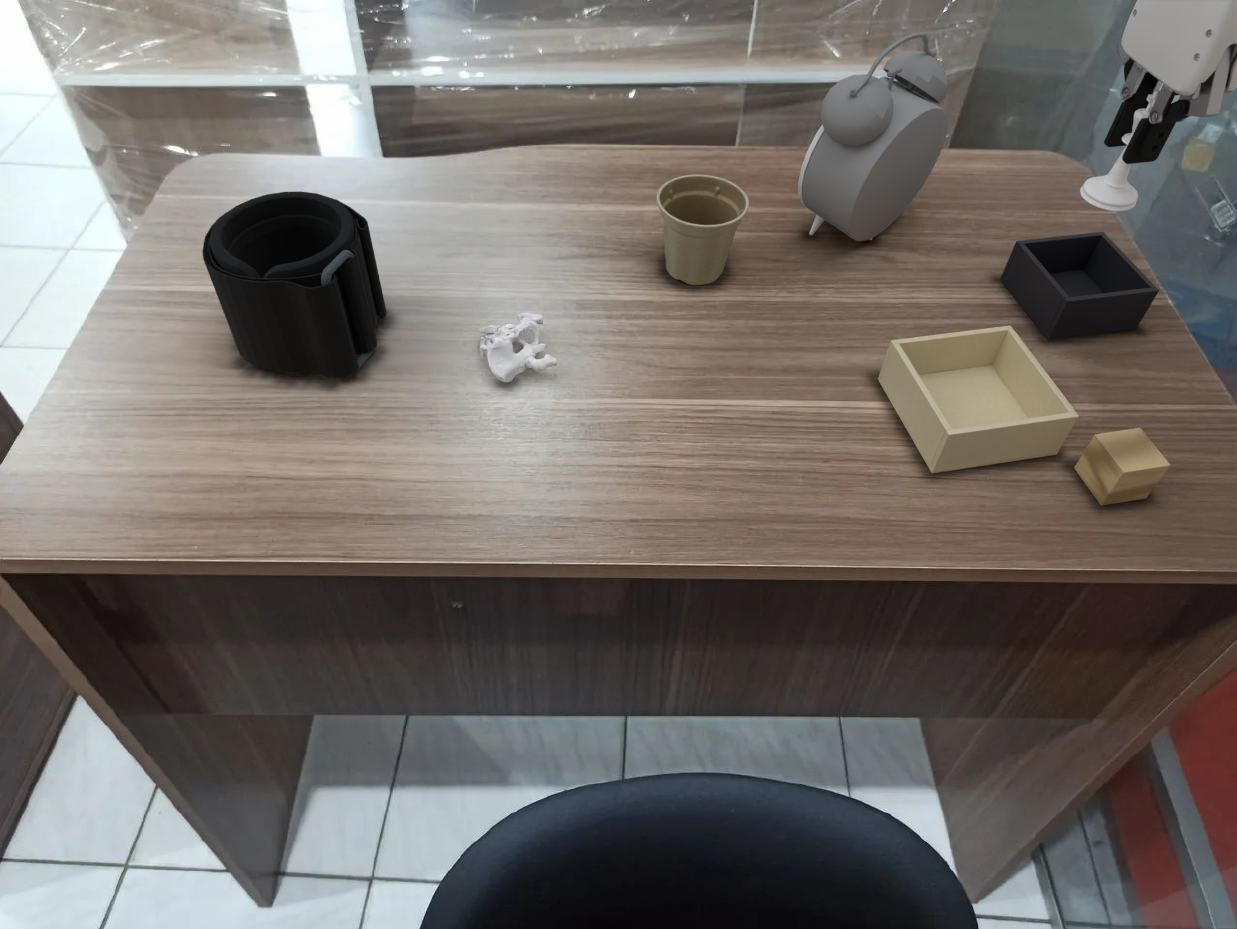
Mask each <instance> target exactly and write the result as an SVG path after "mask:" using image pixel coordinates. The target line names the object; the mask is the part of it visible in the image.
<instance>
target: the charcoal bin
mask: <svg viewBox="0 0 1237 929" xmlns="http://www.w3.org/2000/svg"><path fill="white" fill-rule="evenodd" d="M1001 273H1002V274H1001V276H1000V278H999V280H1000V282H1001V283H1002V284H1003V285H1004V287H1005V288H1006V290H1007V291H1008V292H1009V293H1010V295H1011V296H1012V298H1014V300H1015V301H1016V302H1017V304H1019V306H1020V308H1022V309H1023V311H1024V312H1025V313H1026V315H1027V316H1028V317H1029V319H1030V320H1031V321H1032V322H1033V324H1034V325H1035V326H1036V327H1037V329H1038V330H1039V331H1040V332H1041V334H1042V335H1043V336H1044V338H1045V339H1046V341H1054V340H1060V339H1069V338H1078V337H1085V336H1092V335H1100V334H1107V333H1109V334H1110V333H1115V332H1124V331H1132V330H1137V329H1138V327H1139V325H1140V324H1141V322H1142V321H1143V319H1144V317H1145V316H1146V314H1147V312H1148V310H1149V308H1150V307H1151V305H1152V304H1153V302H1154V300H1155V298H1157V295H1158V294H1159V292H1160V290H1159V288H1158V287H1157V286H1156V285H1155V284H1154V283H1153V282H1152V280H1150V279H1149V277H1147V275H1146V274H1145V273H1143V272H1142V270H1141V269H1140V268H1139V267H1138V266H1137V265H1136V264H1135V263H1134V262H1133V261H1132V260H1131V258H1129V257H1128V256H1127V255H1126V254H1125V253H1124V252H1123V251H1122V250H1121V248H1120V247H1119V246H1118V245H1117V244H1116V243H1115V242H1114V241H1113V240H1112V239H1111V238H1110V237H1109V236H1108V235H1107V234H1106V233H1105V232H1104V231H1096V232H1087V233H1078V234H1068V235H1058V236H1049V237H1041V238H1032V239H1023V240H1016V241H1015V243H1014V246H1013V248H1012V250H1011V253H1010V255H1009V257H1008V259H1007V262H1006V264H1005V267H1004V269H1003V271H1002V272H1001Z"/></svg>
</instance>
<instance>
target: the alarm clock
mask: <svg viewBox="0 0 1237 929" xmlns="http://www.w3.org/2000/svg"><path fill="white" fill-rule="evenodd" d="M919 38H920V39H922V43H923V47H922V48H923V51H920V50H901V51H899V52H896V53H895V54H893V55H892V56H890V58H889V59H888V60H886V62H885V64H884V65H883V67H882V70H883V71H884V72H885V73H886V76H884V75H875V76H873V74H874V73H875V71H876V69H877V68H878V66H879V65H880V63H881V62H882V61H883V60H884V58H885V57H886V56H888V54H890V53H891V52H892V51H893V50H895V49H897V48H898V47H899V46H901V45H902V44H905V43H906V42H909V41H911V40H914V39H915V40H916V39H919ZM937 51H938V49H937V48H936V47H933V48H932V49H929V38H928V35H927V34H926V33H924V32H914V33H911V34H908V35H905V36H903V37H901V38H900V39H898V40H896V41H895V42H893V43H892V44H890V45H888V47H887V48H885V49H884V50H883V51H882V52H881V53H880V54H879V55H878V57H877V58H876V59H875V61H874V62H873V63H872V65H871V67H870V68H869V71H868V72H867V74H866V73H865V74H853V75H850V76H848V77H845V78H842V79H840V80H839V81H838V82H837V83H835V84H834V85H833V86H832V87H830V88H829V90H828V91H827V93H826V95H825V96H824V97H823V100H822V103H821V110H820V115H819V116H820V120H821V126H820V127H819V129H818V130H817V132H816V133H815V135H814V137H813V139H812V141H811V143H810V145H809V147H808V149H807V151H806V153H805V156H804V159H803V162H802V164H801V168H800V172H799V176H798V182H797V195H798V196H797V197H798V198H799V201H800V203H801V205H802V206H803V207H805V208H806V209H808V210H809V211H811V212H812V213H814V214H815V217H814V220H813V223H812V225H811V228H810V231H809V233H808V234H809V235H810V236H813V235H814V234H815V233H816V232H817V230H818V229H820V227H821V226H822V225H823V223H824V222H827V223H829V224H830V225H832V226H833V227H835V228H836V229H837V230H839V231H840V232H842V233H843V234H845V235H846V236H848V237H849V238H851V239H852V240H854V241H855V242H864V241H873V238H874V237H877V236H878V235H879V234H881V233H882V232H883V231H885V230H886V229H887V228H889V227H890V226H891V224H893V223H894V222H895V221H896V220H897V219H898V218H900V216H901V215H902V213H904V211H906V209H907V207H908V206H910V204H911V203H912V201H913V200H914V199H915V198H916V197H917V195H918V193H919V192H920V190H921V189H922V188H923V186H924V185H925V183H926V181H927V180H928V178H929V176H930V175H931V173H932V171H933V169H934V167H935V166H936V163H937V161H938V159H939V156H940V155H941V152H942V149H943V146H944V144H945V141H946V137H947V132H948V127H949V124H948V115H947V113H946V112H945V110H944V109H943V108H942V107H941V106H939V105H940V104H941V103H942V101H943V100H944V99H945V97H946V95H947V91H948V89H949V79H948V77H947V72H946V71H945V70H944V68H943V66H942V64H940V62H939V61H938V60H937V59H936V58H935V57H936V56H937ZM898 82H899V83H898ZM938 104H939V105H938Z"/></svg>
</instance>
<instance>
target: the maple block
mask: <svg viewBox="0 0 1237 929" xmlns="http://www.w3.org/2000/svg"><path fill="white" fill-rule="evenodd" d="M1170 468H1171V464H1170V462H1169V461H1168V459H1166V457H1164V454H1162V453H1161V452H1160V450H1159V449H1158V448H1157V446H1156V445H1155V443H1153V441H1152V440H1151V439H1150V438H1149V436H1148V434H1146V432H1145V431H1144V430H1143V428H1141V427H1135V428H1129V429H1122V430H1115V431H1114V430H1113V431H1109V432H1108V431H1107V432H1101V433H1095V434H1094V435H1093V436H1092V438H1091V439H1090V441H1089V443H1088V445H1087V446H1086V448H1085V450H1084V451H1083V453H1082V454H1081V456H1080V458H1079V459H1078V460H1077V462H1076V464H1075V465H1074V467H1073V469H1074V470H1075V471H1076V473H1077V475H1078V476H1079V478H1081V480H1082V481H1083V483H1084V484H1085V486H1086V487H1087V488H1088V490H1089V491H1090V492H1091V494H1092V496H1093V497H1094V498H1095V499H1096V501H1097V502H1098V504H1099V505H1100V506H1101V507H1102V506H1107V505H1113V504H1120V503H1126V502H1131V501H1138V500H1145V499H1147V498H1148V497H1149V495H1150V494H1151V493H1152V492H1153V490H1154V488H1155V487H1156V486H1157V484H1159V482H1160V480H1162V478H1163V477H1164V475H1165V474H1166V472H1167V471H1168V470H1169V469H1170Z"/></svg>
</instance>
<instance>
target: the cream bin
mask: <svg viewBox="0 0 1237 929" xmlns="http://www.w3.org/2000/svg"><path fill="white" fill-rule="evenodd" d="M877 381H878V382H879V384H880V386H881V387H882V389H883V391H884V393H885V394H886V396H887V398H888V400H889V402H890V403H891V405H892V407H893V409H894V410H895V412H896V414H897V415H898V417H899V419H900V421H901V422H902V425H903V426H904V428H905V429H906V431H907V433H908V435H909V436H910V438H911V440H912V442H913V443H914V445H915V447H916V448H917V450H918V452H919V454H920V456H921V457H922V459H923V461H924V462H925V464H926V466H927V468H928V469H929V471H930V473H931V474H937V473H944V472H950V471H958V470H963V469H970V468H977V467H984V466H990V465H997V464H1004V463H1011V462H1017V461H1024V460H1030V459H1036V458H1037V459H1038V458H1043V457H1051V456H1056V455H1058V453H1059V451H1060V450H1061V448H1062V447H1063V444H1064V443H1065V441H1066V440H1067V438H1068V436H1069V434H1070V433H1071V431H1072V429H1073V428H1074V426H1075V424H1076V422H1078V419H1079V417H1080V415H1079V414H1078V413H1077V411H1076V410H1075V408H1074V407H1073V406H1072V404H1071V403H1070V401H1068V399H1067V398H1066V397H1065V395H1064V394H1063V393H1062V391H1061V390H1060V388H1059V387H1058V386H1057V385H1056V384H1055V382H1054V381H1053V379H1052V378H1051V377H1050V375H1049V374H1048V373H1047V371H1046V370H1045V369H1044V368H1043V366H1042V365H1041V363H1040V362H1039V361H1038V360H1037V357H1035V355H1034V354H1033V353H1032V352H1031V350H1030V349H1029V347H1028V346H1027V345H1026V343H1025V342H1024V341H1023V339H1022V338H1021V337H1020V336H1019V334H1018V333H1017V332H1016V331H1015V329H1014V328H1013V327H1012V326H1011V325H1003V326H995V327H987V328H978V329H971V330H970V329H969V330H962V331H955V332H946V333H939V334H931V335H921V336H915V337H906V338H899V339H898V338H897V339H891V340H890V342H889V345H888V348H887V351H886V354H885V357H884V360H883V363H882V366H881V368H880V372H879V375H878V378H877Z"/></svg>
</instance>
